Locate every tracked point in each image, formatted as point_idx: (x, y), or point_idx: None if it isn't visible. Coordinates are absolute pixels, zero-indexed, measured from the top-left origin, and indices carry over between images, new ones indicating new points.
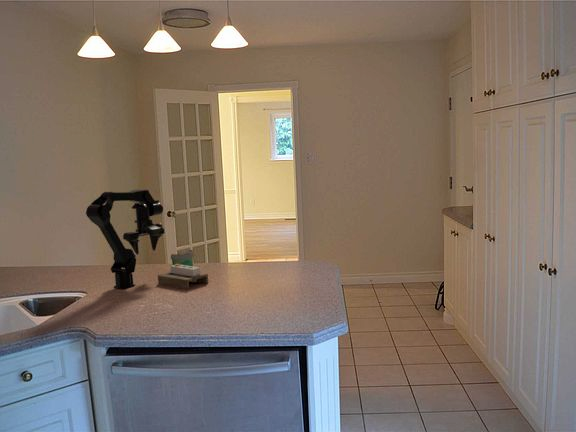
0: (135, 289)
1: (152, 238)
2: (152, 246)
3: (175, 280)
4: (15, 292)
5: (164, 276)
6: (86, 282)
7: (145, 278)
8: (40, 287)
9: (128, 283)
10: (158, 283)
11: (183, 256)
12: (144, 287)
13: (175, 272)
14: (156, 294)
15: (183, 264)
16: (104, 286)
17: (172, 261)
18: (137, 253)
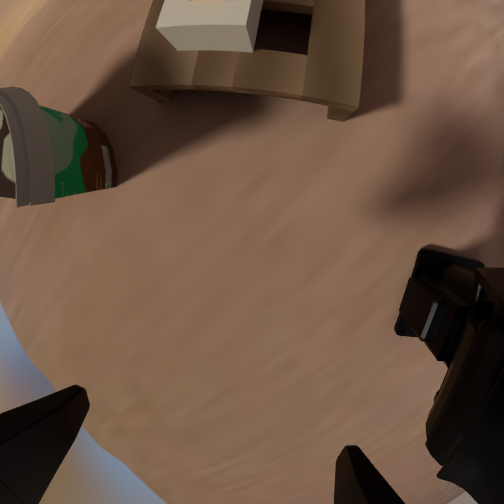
0: (469, 192)
1: (9, 501)
2: (67, 439)
3: None
4: (461, 488)
5: (363, 37)
6: (377, 468)
7: (250, 311)
8: (427, 494)
9: (462, 266)
10: (343, 119)
11: (17, 95)
12: (429, 165)
13: (261, 3)
14: (476, 35)
15: (58, 114)
16: (435, 385)
17: (62, 192)
18: (362, 454)
